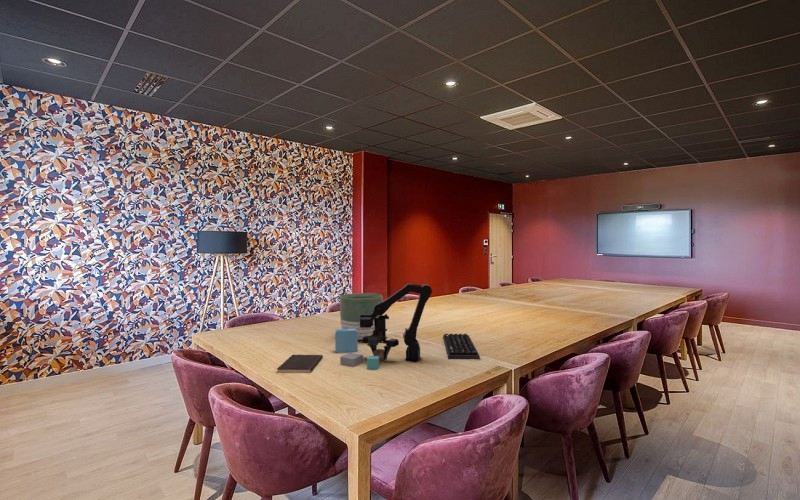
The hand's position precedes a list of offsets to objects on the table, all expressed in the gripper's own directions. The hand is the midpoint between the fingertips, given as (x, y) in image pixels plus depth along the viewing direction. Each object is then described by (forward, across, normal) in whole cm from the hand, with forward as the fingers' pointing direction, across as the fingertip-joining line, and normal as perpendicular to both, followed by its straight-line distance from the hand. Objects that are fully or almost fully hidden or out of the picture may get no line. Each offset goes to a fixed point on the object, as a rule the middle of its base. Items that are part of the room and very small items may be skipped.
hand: (380, 358), depth 197 cm
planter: (+1, -33, +34) cm, 47 cm away
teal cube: (+1, +3, -12) cm, 12 cm away
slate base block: (+1, -10, -11) cm, 15 cm away
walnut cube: (+1, 0, 0) cm, 1 cm away
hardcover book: (+2, -31, -24) cm, 39 cm away
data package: (+1, -25, +6) cm, 26 cm away
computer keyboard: (+2, +29, +40) cm, 49 cm away
